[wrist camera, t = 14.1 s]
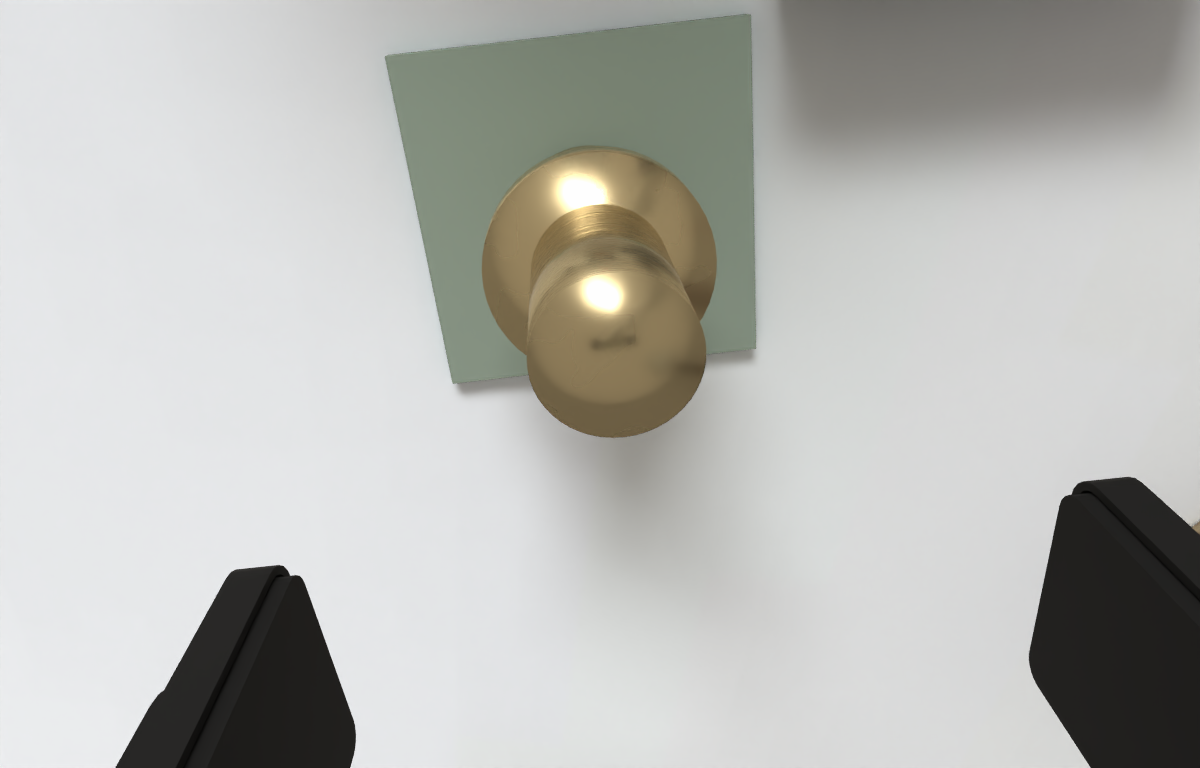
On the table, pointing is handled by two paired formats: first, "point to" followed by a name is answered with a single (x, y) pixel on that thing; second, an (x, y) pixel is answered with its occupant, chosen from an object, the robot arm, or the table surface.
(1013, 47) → the table surface
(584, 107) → the mat
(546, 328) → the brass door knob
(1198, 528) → the lamp
